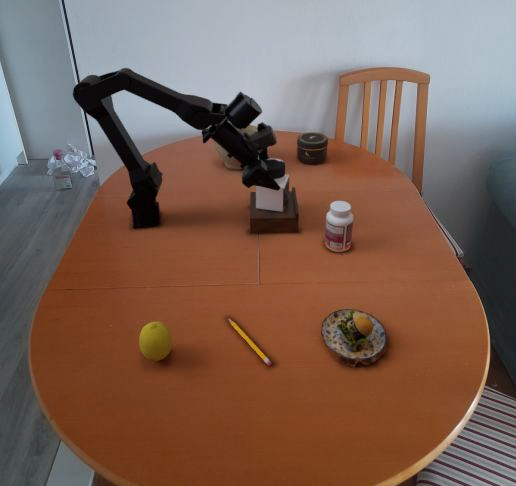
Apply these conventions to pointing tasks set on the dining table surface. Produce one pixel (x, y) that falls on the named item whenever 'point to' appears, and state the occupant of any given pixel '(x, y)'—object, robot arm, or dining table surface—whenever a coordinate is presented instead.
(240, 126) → the robot arm
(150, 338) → the lemon
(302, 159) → the jar
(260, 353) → the pencil
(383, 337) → the food bowl
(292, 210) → the dark brown lipped tray
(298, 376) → the dining table surface
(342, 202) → the pill bottle
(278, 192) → the medicine bottle
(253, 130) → the planter bowl
